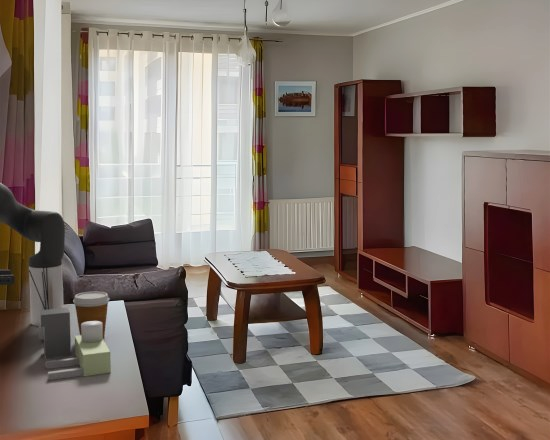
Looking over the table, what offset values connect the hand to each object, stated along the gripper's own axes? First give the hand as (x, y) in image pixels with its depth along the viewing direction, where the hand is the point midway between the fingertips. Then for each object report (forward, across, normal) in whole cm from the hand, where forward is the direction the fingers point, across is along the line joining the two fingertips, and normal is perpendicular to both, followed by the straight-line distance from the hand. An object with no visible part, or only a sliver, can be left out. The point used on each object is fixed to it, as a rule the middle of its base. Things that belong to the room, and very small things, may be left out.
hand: (12, 276), depth 151 cm
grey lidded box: (+11, 0, +20) cm, 23 cm away
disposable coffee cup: (+22, +10, +19) cm, 30 cm away
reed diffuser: (+10, +14, +20) cm, 26 cm away
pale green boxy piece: (+13, -11, +20) cm, 26 cm away
